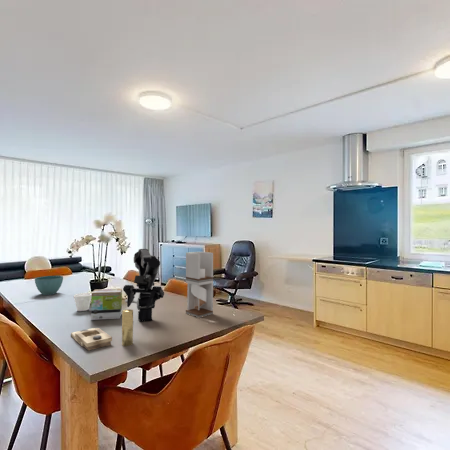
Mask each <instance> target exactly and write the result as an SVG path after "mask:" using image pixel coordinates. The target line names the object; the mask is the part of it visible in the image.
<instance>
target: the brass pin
mask: <svg viewBox="0 0 450 450" xmlns="http://www.w3.org/2000/svg"><path fill="white" fill-rule="evenodd" d="M133 344H134V309H132V308H131V309H130V308H129V309H123V310H122V311H121V345H122V347H129V346H132V345H133Z"/></svg>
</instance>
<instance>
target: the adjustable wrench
mask: <svg viewBox="0 0 450 450" xmlns="http://www.w3.org/2000/svg"><path fill="white" fill-rule="evenodd" d="M137 301H138V299H136V298H134V299H133V301H132V303H135V304H137ZM125 303H127V299H125ZM132 303H131V304H132Z"/></svg>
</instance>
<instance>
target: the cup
mask: <svg viewBox="0 0 450 450" xmlns="http://www.w3.org/2000/svg"><path fill="white" fill-rule="evenodd" d="M91 296H92V293H91V292H82V293H81V292H80V293H76V294H74V295H73V299H74V302H75V307H76V311H77V312H86V311H89V309H90V307H91Z"/></svg>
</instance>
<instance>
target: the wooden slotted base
mask: <svg viewBox="0 0 450 450" xmlns="http://www.w3.org/2000/svg"><path fill="white" fill-rule="evenodd" d="M70 337H71V338H72V339H74V340H75V341H76V343H78V344H79V345H80V346H81V347H84V348H85V349H86V350H87V351H92V350H96V349H101V348H104V347H108V346H111V345H112V341H113V337H112V336H111V335H110V334H108V333H107V332H106V331H104V330H102V329H101V328H99V327H95V328H94V327H93V328H92V327H91V328H87V329H82V330H78V331H74V332H70Z"/></svg>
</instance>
